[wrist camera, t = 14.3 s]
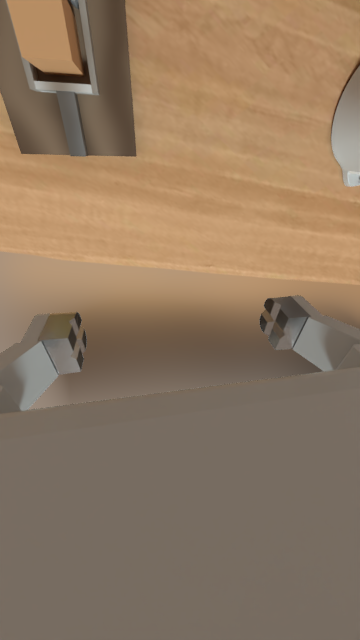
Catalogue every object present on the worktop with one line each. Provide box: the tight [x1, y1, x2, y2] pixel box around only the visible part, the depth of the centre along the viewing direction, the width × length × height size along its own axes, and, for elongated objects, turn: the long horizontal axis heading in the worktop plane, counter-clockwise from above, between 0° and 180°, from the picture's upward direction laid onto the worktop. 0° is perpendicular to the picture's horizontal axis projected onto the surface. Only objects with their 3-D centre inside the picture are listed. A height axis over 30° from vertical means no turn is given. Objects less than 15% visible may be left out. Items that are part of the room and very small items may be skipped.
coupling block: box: [7, 0, 85, 77], centre depth 21 cm, size 4×4×7 cm
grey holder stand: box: [0, 0, 136, 156], centre depth 23 cm, size 14×18×4 cm
